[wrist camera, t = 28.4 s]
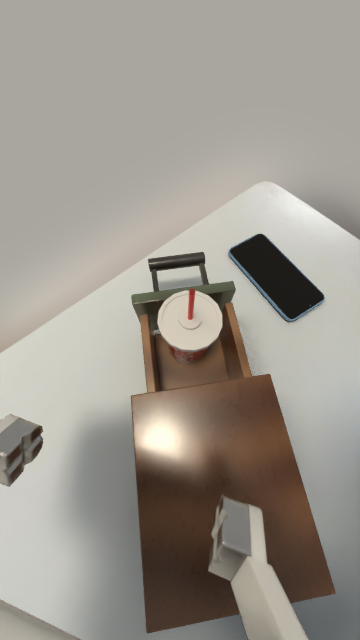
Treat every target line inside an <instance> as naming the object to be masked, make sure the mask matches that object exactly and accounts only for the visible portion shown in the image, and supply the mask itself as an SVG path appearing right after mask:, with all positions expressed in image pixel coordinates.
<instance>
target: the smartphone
mask: <svg viewBox="0 0 360 640" xmlns="http://www.w3.org/2000/svg"><path fill="white" fill-rule="evenodd" d="M228 254H229V256H230V258H231V259H232V260H233V261H234V262H235V263H236V264H237V265H238V267H239V268H240V269H241V270H242V271H243V272H244V273H245V275H246V276H247V277H248V278H249V279H250V280H251V281H252V283H253V284H254V285H255V286H256V287H257V288H258V289H259V291H260V292H261V293H262V294H263V295H264V296H265V297H266V299H267V300H268V301H269V302H270V303H271V304H272V305H273V306H274V308H275V309H276V310H277V311H278V312H279V313H280V314H281V316H282V317H283V318H284V319H285V320H287V321H294V320H296V319H298V318H299V317H301V316H302V315H304V314H305V313H307V312H308V311H310V310H311V309H313V308H315V307H316V306H318V305H319V304H321V303H322V302H323V301H324V299H325V297H324V295H323V293H322V292H321V291H320V290H319V289H318V288H317V287H316V286H315V285H314V284H313V283H312V282H311V281H310V280H309V279H308V278H307V277H306V276H305V275H304V274H303V273H302V272H301V271H300V270H299V269H298V268H297V267H296V266H295V265H294V264H293V263H292V262H291V261H290V260H289V259H288V258H287V257H286V256H285V255H284V254H283V253H282V252H281V251H280V250H279V249H278V248H277V247H276V246H275V245H274V244H273V243H272V242H271V241H270V240H269V239H268V238H267V237H266V236H265V235H263V234H257V235H255V236H253V237H251V238H249V239H247V240H245V241H243V242H241V243H239V244H238V245H236V246H234V247H232V248H231V249H230V250H229V253H228Z"/></svg>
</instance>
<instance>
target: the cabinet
mask: <svg viewBox="0 0 360 640" xmlns="http://www.w3.org/2000/svg"><path fill="white" fill-rule="evenodd" d="M131 404H132V419H133V435H134V450H135V465H136V480H137V495H138V511H139V526H140V541H141V556H142V571H143V586H144V602H145V617H146V632H147V633H152V632H157V631H161V630H166V629H171V628H176V627H180V626H185V625H190V624H194V623H199V622H204V621H209V620H213V619H218V618H223V617H227V616H232V615H237V614H240V612H239V608H238V605H237V602H236V599H235V596H234V592H233V589H232V586H231V581H229V580H227V579H225V578H222V577H220V576H218V575H216V574H214V573H212V572H209V571H208V565H209V552H210V546H211V544H212V542H213V537H212V535H211V528H212V520H213V516H214V512H215V509H216V507H217V506H218V505H219V504H220V498H221V496H222V495H223V494H224V495H227V496H229V497H232V498H235V499H238V500H241V501H243V502H246V503H248V504H251V505H253V506H256V507H259V508H260V509H261V510H262V514H263V524H264V534H265V544H266V554H267V564H269V565H272V567H273V569H274V571H275V573H276V575H277V577H278V579H279V581H280V583H281V585H282V587H283V589H284V591H285V593H286V595H287V597H288V599H289V601H290V603H293V602H298V601H303V600H307V599H312V598H317V597H322V596H326V595H331V594H335V589H334V586H333V583H332V579H331V576H330V573H329V569H328V566H327V563H326V559H325V556H324V553H323V549H322V546H321V543H320V539H319V536H318V533H317V529H316V526H315V523H314V519H313V516H312V513H311V509H310V506H309V503H308V499H307V496H306V493H305V489H304V486H303V483H302V479H301V476H300V473H299V469H298V466H297V463H296V459H295V456H294V453H293V449H292V446H291V443H290V439H289V436H288V433H287V429H286V426H285V423H284V419H283V416H282V413H281V409H280V406H279V403H278V399H277V396H276V393H275V389H274V386H273V383H272V380H271V376H270V374H265V375H259V376H252V377H246V378H240V379H233V380H227V381H221V382H214V383H208V384H202V385H195V386H189V387H183V388H176V389H170V390H164V391H157V392H151V393H145V394H138V395H132V396H131Z"/></svg>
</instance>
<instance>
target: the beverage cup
mask: <svg viewBox="0 0 360 640" xmlns="http://www.w3.org/2000/svg"><path fill="white" fill-rule="evenodd" d="M157 323H158V327H159V330H160V333H161V335H162V337H163V339H164V340H165V341H166V342H167V344H168V346H169V349H170V351H171V354H172V356H173V357H174V358H175V359H176V360H177V361H179V362H181V363H183V364H192V363H195V362H198V361H199V360H200V359H201V358H202V357H203V355H204V354H205V352H206V350H207V349H208V347H209V346H210V345H211V344H212V343H213V342H214V341H215V340H216V339H217V337H218V335H219V333H220V331H221V328H222V313H221V311H220V308H219V306H218V304H217V303H216V302H215V301H214V300H213V299H212V298H211V297H210V296H208V295H206V294H203V293H201V292H199V291H195V289H190V290H189V291H187V290H185V291H182V292H178V293H175V294H173V295H172V296H170V297H169V298H168V299H167V300H165V301H164V303H163V304H162V306H161V308H160V310H159V312H158V322H157Z"/></svg>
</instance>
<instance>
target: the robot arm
mask: <svg viewBox="0 0 360 640" xmlns="http://www.w3.org/2000/svg"><path fill="white" fill-rule="evenodd" d="M42 432H43V429H42V426H40V425H38V424H35V423H32V422H30V421H27V420H25V419H22V418H20V417H17V416H15V415H12V414H10V415H8V416H6V417H4V418H3V419H2V420H1V421H0V483H1V484H3V485H6V486H9V487H10V486H11V484H12V483H13V482H14V481H15V480H16V479H17V478H18V477H19V475H20V474H21V473H22V472H23V470H24V465H26V464H28V463H30V462H32V461H33V460H34V459H35V457H36V456H37V455H38V453H39V452H40V450H41V448H42V445H43V438H42V437H41V435H40V434H41V433H42ZM211 535H212V537H213V542H212V544H211V546H210V552H209V565H208V571H209V572H212V573H214V574H216V575H218V576H220V577H222V578H225V579H227V580H229V581H231V586H232V589H233V592H234V596H235V599H236V602H237V605H238V608H239V612H240V615H241V618H242V621H243V624H244V628H245V631H246V634H247V637H248V640H309V639H308V637H307V635H306V633H305V631H304V629H303V627H302V625H301V623H300V621H299V619H298V617H297V615H296V613H295V611H294V609H293V607H292V605H291V603H290V601H289V599H288V597H287V595H286V593H285V591H284V589H283V587H282V585H281V583H280V581H279V579H278V577H277V575H276V573H275V571H274V569H273V567H272V565H269V564H267V554H266V544H265V534H264V524H263V514H262V510H261V509H260V508H259V507H256V506H253V505H251V504H248V503H246V502H243V501H241V500H238V499H235V498H232V497H229V496H227V495H224V494H223V495H222V496H221V498H220V504H219V505H218V506H217V507H216V509H215V512H214V516H213V520H212V528H211ZM0 640H81V639H79V638H77V637H75V636H73V635H71V634H69V633H67V632H65V631H63V630H61V629H59V628H57V627H55V626H53V625H51V624H49V623H47V622H45V621H43V620H41V619H39V618H37V617H35V616H33V615H31V614H29V613H27V612H25V611H23V610H21V609H19V608H17V607H15V606H13V605H10V604H8V603H6V602H4V601H2V600H0Z"/></svg>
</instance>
